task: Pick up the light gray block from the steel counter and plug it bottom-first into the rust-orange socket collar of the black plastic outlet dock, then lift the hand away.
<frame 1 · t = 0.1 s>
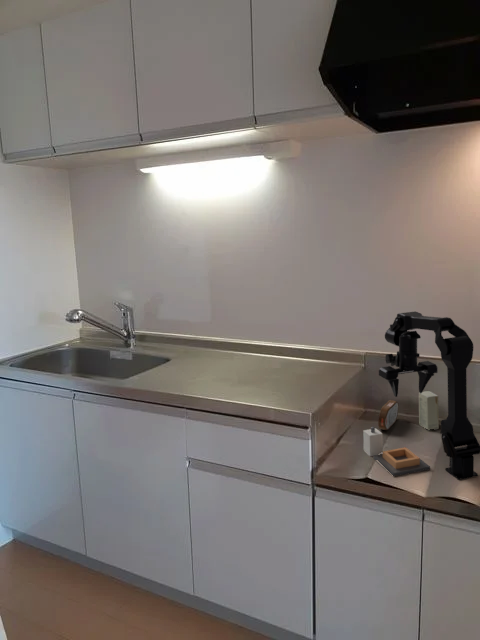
hand: (408, 394, 174), 15 cm above the counter, fingers open, 9 cm apart
dock: (400, 463, 158), on the counter
light gray block: (373, 452, 167), on the counter
skincare box: (428, 427, 183), on the counter
tin: (388, 426, 186), on the counter
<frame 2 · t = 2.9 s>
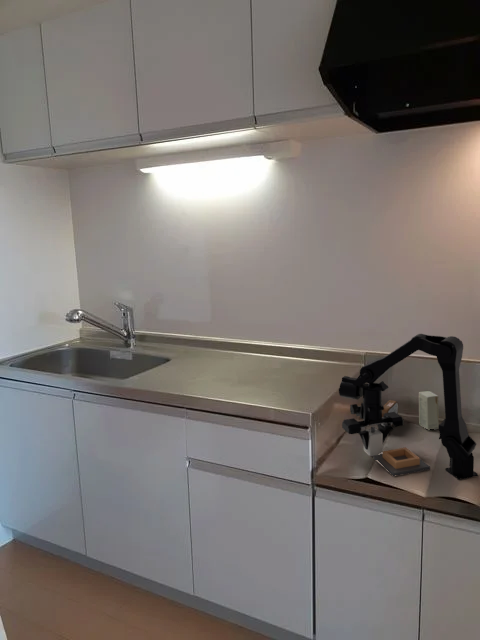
hand: (373, 447, 166), 2 cm above the counter, fingers closed on light gray block, 4 cm apart
light gray block: (373, 452, 167), on the counter, touching gripper
everything else where it was.
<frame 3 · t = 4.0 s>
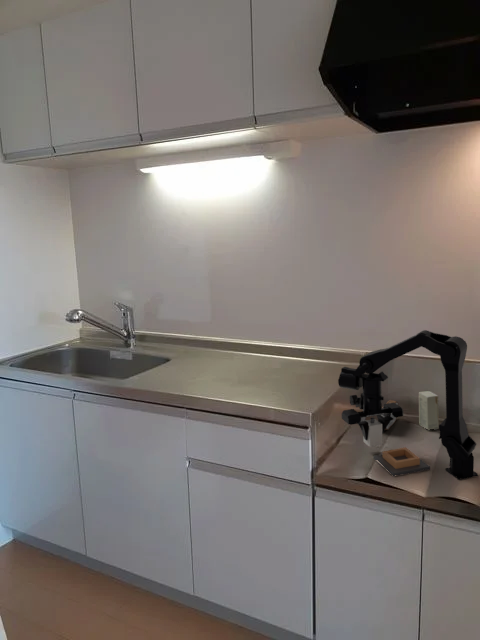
hand: (372, 438, 166), 5 cm above the counter, fingers closed on light gray block, 4 cm apart
light gray block: (372, 443, 166), point 3 cm above the counter, touching gripper
everything else where it was.
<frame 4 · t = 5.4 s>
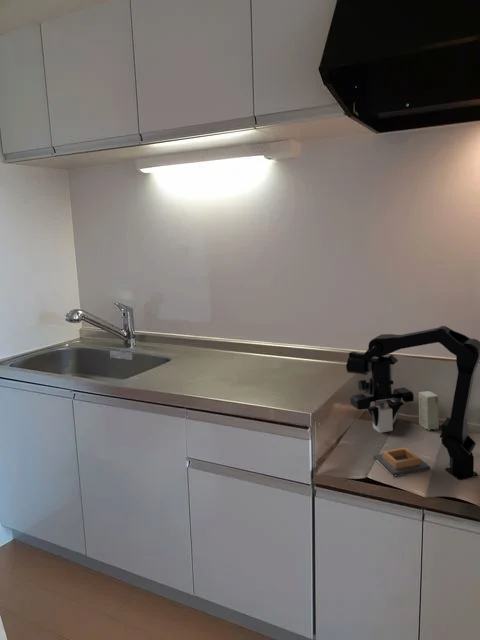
hand: (382, 424, 162), 11 cm above the counter, fingers closed on light gray block, 4 cm apart
light gray block: (382, 429, 162), point 9 cm above the counter, touching gripper
everything else where it was.
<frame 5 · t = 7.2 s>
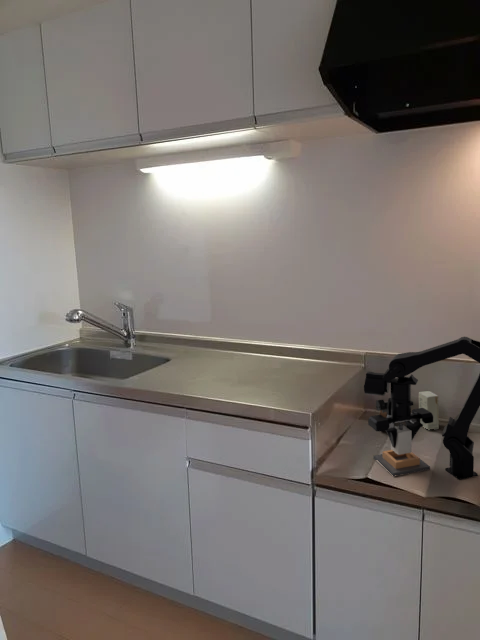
hand: (401, 445, 157), 6 cm above the counter, fingers closed on light gray block, 4 cm apart
light gray block: (401, 450, 157), point 4 cm above the counter, touching gripper
everything else where it was.
when the fingers open (4 cm above the counter, at t = 8.4 s): light gray block drops 1 cm, resting on dock.
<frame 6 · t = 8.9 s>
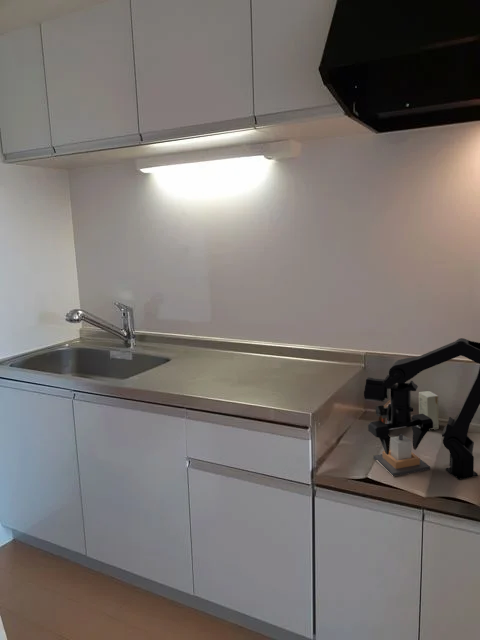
hand: (400, 451, 157), 4 cm above the counter, fingers open, 9 cm apart
light gray block: (400, 460, 158), point 1 cm above the counter, touching dock
everything else where it was.
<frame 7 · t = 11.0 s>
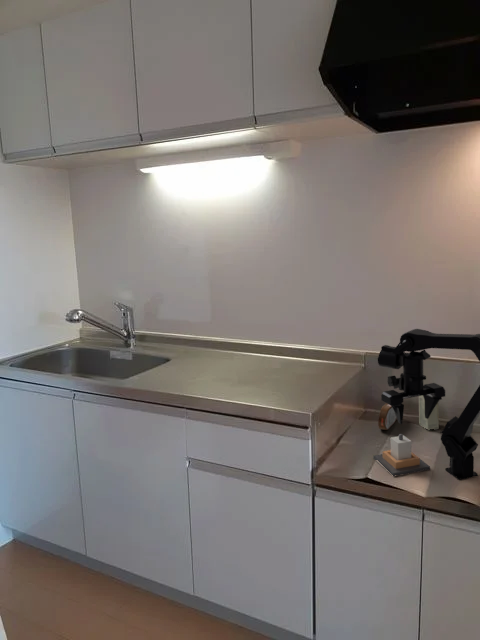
hand: (413, 420, 158), 13 cm above the counter, fingers open, 9 cm apart
nothing on the counter moved.
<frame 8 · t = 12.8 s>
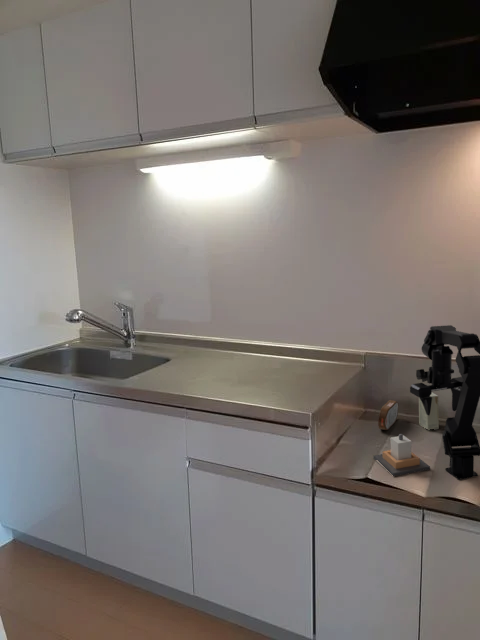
hand: (441, 412, 164), 12 cm above the counter, fingers open, 9 cm apart
nothing on the counter moved.
at the end: light gray block 0.0 cm off-centre on the dock, point 1.0 cm above the dock's base; light gray block tilted 0°; the gripper is holding nothing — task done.
